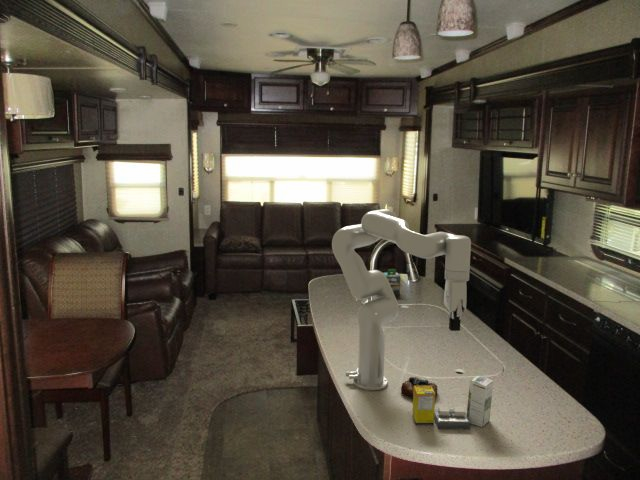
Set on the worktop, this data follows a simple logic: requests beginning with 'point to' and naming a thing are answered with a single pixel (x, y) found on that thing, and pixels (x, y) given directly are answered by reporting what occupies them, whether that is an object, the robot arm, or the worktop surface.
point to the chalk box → (394, 281)
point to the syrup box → (479, 400)
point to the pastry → (409, 385)
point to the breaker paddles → (445, 411)
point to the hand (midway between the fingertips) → (454, 329)
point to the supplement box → (423, 405)
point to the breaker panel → (451, 421)
